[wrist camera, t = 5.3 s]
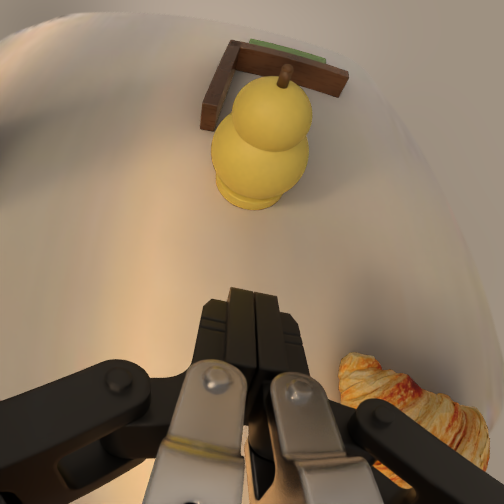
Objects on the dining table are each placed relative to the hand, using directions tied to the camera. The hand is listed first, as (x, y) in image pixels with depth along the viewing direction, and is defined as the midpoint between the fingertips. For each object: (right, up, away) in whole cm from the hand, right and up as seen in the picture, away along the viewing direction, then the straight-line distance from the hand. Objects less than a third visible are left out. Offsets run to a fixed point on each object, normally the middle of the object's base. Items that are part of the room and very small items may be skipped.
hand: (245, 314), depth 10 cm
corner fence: (+3, +16, +17) cm, 23 cm away
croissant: (+12, -13, +8) cm, 19 cm away
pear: (0, +7, +13) cm, 15 cm away
